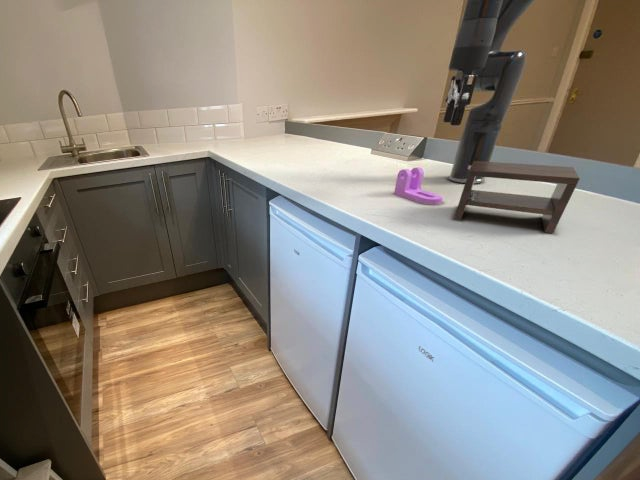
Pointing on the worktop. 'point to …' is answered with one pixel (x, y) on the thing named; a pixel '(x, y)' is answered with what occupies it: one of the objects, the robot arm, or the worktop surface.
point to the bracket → (414, 187)
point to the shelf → (521, 203)
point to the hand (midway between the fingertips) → (451, 123)
